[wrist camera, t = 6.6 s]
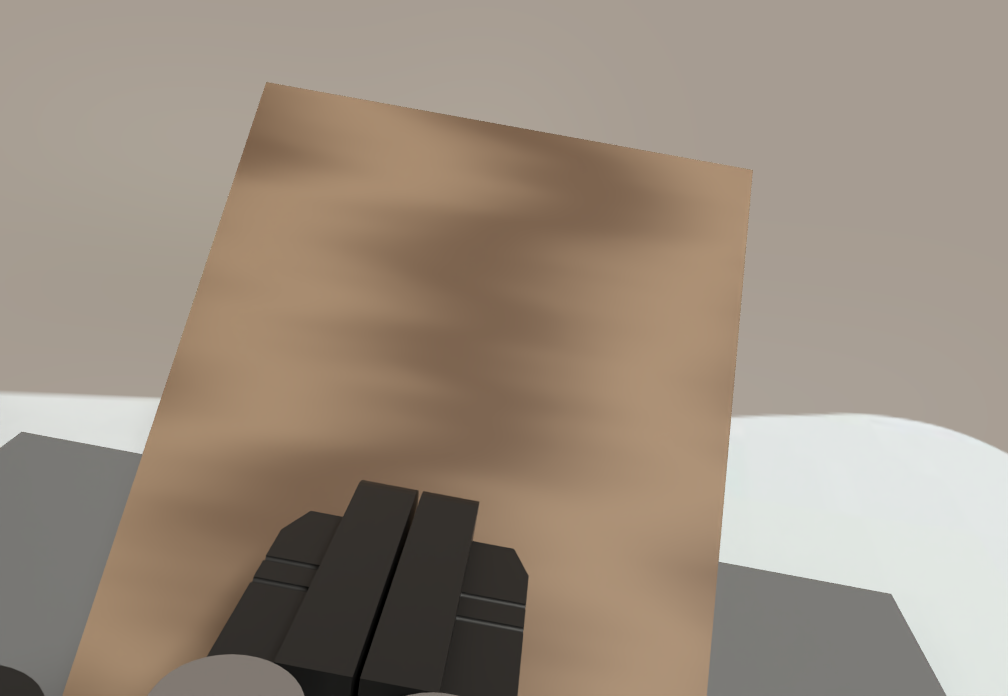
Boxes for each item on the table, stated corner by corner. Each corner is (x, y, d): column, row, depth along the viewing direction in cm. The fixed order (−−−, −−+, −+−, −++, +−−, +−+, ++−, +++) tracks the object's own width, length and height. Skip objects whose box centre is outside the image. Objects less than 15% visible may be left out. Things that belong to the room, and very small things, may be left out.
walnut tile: (0, 883, 12) (266, 81, 17) (63, 860, 14) (285, 150, 19) (678, 1013, 12) (752, 169, 17) (645, 971, 14) (720, 229, 19)
